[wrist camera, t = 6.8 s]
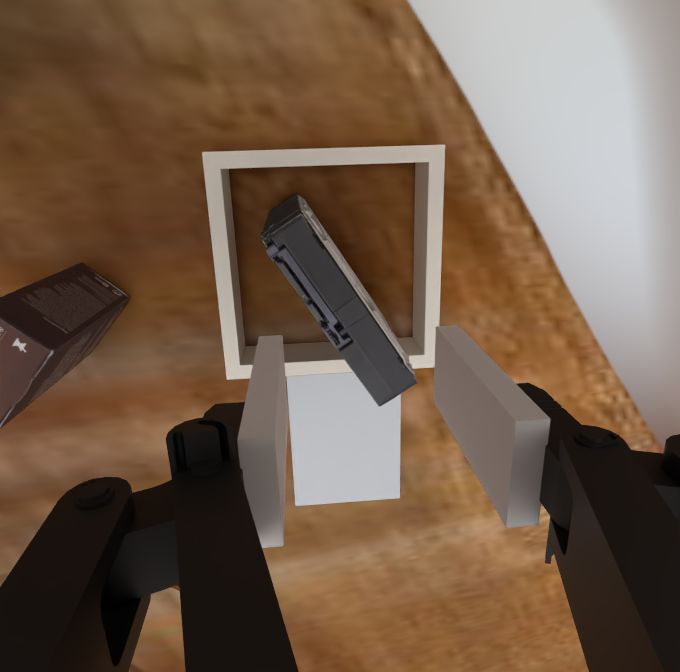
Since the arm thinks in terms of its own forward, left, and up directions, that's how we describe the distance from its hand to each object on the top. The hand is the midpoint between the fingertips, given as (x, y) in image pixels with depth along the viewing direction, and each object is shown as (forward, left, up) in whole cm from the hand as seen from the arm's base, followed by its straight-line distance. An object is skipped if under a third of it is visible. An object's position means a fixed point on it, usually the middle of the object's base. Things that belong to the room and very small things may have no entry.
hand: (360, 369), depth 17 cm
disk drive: (0, 0, -22) cm, 22 cm away
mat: (+15, +1, -22) cm, 27 cm away
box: (+3, -18, -22) cm, 29 cm away
